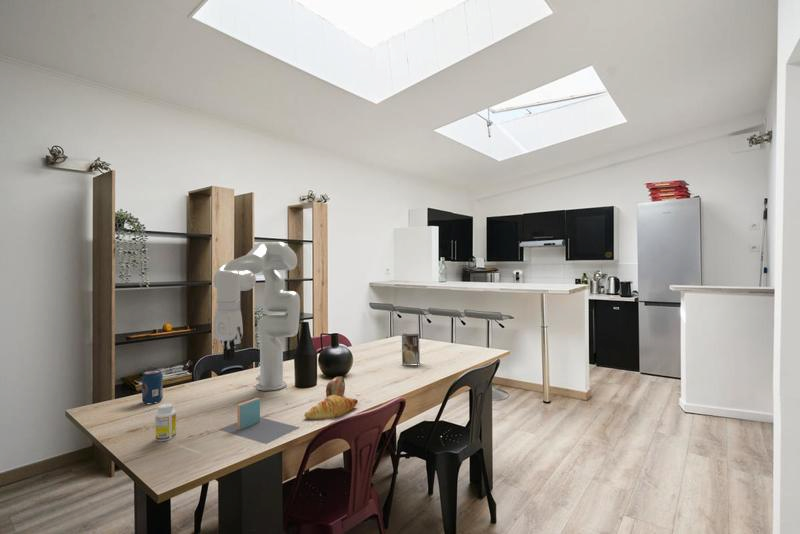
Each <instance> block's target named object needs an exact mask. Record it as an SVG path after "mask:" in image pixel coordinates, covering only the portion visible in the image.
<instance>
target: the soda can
mask: <svg viewBox="0 0 800 534" xmlns="http://www.w3.org/2000/svg"><path fill="white" fill-rule="evenodd" d="M163 381H164V380H163V373H162V370H160V369H152V370H147V371H143V374H142V377H141V395H142V396H141V397H142V398H141V401H142V403H146V404H145V405H148V404H147V403H155V402H159V401H160V402H161V401H162V399H163V397H164V392H163V391H164V390H163V389H164V388H163V385H164V384H163ZM160 402H159V403H160ZM155 404H156V403H155Z"/></svg>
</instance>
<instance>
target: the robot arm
mask: <svg viewBox="0 0 800 534" xmlns="http://www.w3.org/2000/svg"><path fill="white" fill-rule="evenodd" d="M297 264H298V257H297V254H296V252H295V251H294V250H293V249H292V248H291V247H290V246H289V245H288V244H286V243H285V242H282V241H261V242H258V243H256V244H255V245H254V246H253V247H252V248H251V249H250V250H249V251H248V253H246V254H245V255H242V256H240V257H238V258H235V259H233V260H230V261H227V262H226V263H223V265H221V266H220V267H219V268H218V269H217V271H216V272H215V273H214V276H213V281H212V282H213V286H214V287H215V288H216V310H215V312H214V313H215V314H214V319H213V339H215V340H217V342H218V343H220V344H221V348H222V350H223V352H222V354H223V357H222V358H223V361H226V362H229V361H232V360H233V361H234V360H235V358H236V356H235V353H236V351H235V350H236V349H235V348H236V347H237V345H238V344H239V345H240V344H241V343H242V341H241V339H242V338H243V335H244V334H243V333H244V330H243V327H244V326H243V315H242V311H241V292H242V291H249V290H252V289H253V288H254V287H255V286H256V284H257V283H256V282H257V277H256V274H259V273H262V275H263V277H264V282H265V283H264V293H263V309H264V310H265V311H266V312H268V313H287V314H267V315H264V316H261V317H260V318H259V319H258V320H257V331H258V337H259V366H260V368H259V370H260V371H259V374H258V376H257V377H256V378H255V380H256V381H258V384H257V385H256V389H257V390H258V391H262V392H263V391H264V392H270V391H272V392H273V391H278V390H282V389H284V388H286V387H287V385H288V384H287V381H284V372H283V371H284V369H283V368H284V367H283V366H284V365H283V364H284V363H283V361H284V358H283V355H284V354H283V351H284V348H283V344H282V342H281V340H280V339H279V338H293V337H295V336H297V335H298V332H299V327H300V314H301V298H300V295H299V293H298V292H296V291H293V290H285V288H286V287H285V285H286V280H285V278H284V276H283V275H282V274H281V273H280V271H293V270H294V269H296V267H297V266H298V265H297Z"/></svg>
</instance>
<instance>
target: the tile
mask: <svg viewBox="0 0 800 534" xmlns="http://www.w3.org/2000/svg"><path fill="white" fill-rule="evenodd" d="M236 408H237V410H236V420H237V429H238V430H241V429H244V428H246V427H249V426H251V425H253V424H256V423H258V422H260V417H261V398H260V397H255V398H253V399H250V400H246V401H243V402H240V403H239V404H236Z"/></svg>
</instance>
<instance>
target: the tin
mask: <svg viewBox="0 0 800 534" xmlns="http://www.w3.org/2000/svg"><path fill="white" fill-rule="evenodd" d="M345 388H346V384H345V379H344V376H336V377H334V378H333V379H331V380H330V381H329V382H328V383H327V385H326V389H325V395H326V396H325V397H326V398H327V397H328V396H330V395H340V396H341V397H344V394H345V390H346V389H345Z"/></svg>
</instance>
